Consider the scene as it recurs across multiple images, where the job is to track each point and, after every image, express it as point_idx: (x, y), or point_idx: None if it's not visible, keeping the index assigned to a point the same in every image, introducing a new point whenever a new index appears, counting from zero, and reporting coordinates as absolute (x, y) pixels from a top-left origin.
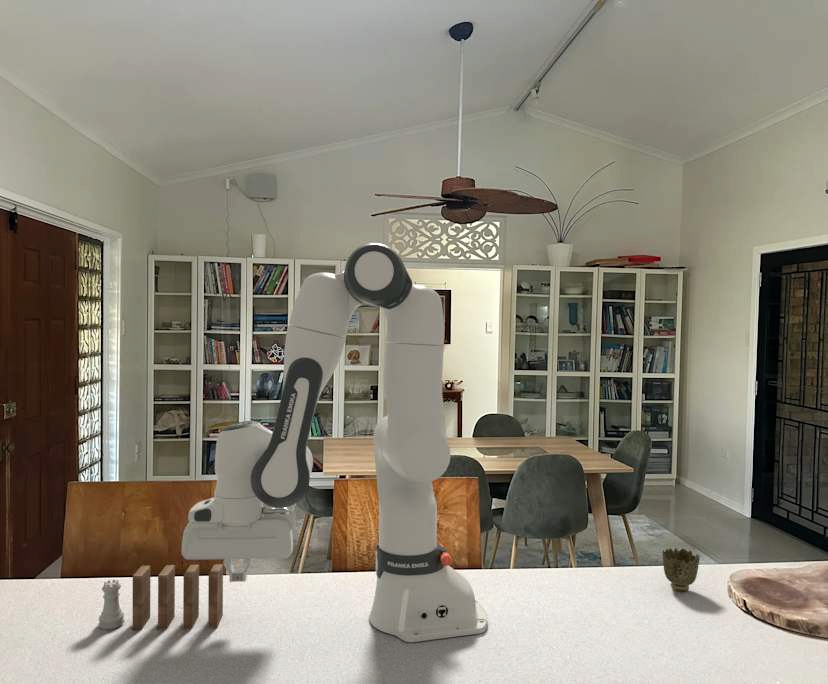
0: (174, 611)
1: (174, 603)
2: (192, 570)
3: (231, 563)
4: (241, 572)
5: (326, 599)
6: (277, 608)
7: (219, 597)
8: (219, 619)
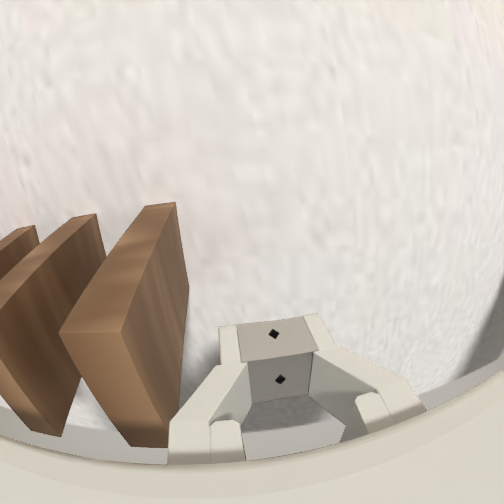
0: (25, 232)
1: (11, 244)
2: (20, 400)
3: (222, 399)
4: (305, 390)
5: (472, 104)
6: (363, 142)
7: (174, 310)
8: (182, 261)
